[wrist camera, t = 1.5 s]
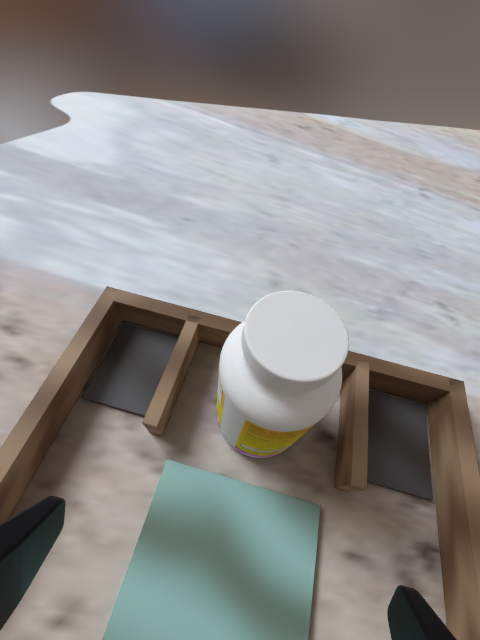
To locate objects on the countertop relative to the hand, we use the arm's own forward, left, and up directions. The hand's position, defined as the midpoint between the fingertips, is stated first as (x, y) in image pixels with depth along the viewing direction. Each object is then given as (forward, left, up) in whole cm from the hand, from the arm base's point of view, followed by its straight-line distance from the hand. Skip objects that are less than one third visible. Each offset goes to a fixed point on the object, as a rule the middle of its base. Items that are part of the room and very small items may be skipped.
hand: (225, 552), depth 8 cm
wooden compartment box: (0, -3, -14) cm, 14 cm away
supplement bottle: (+3, -8, -14) cm, 16 cm away
